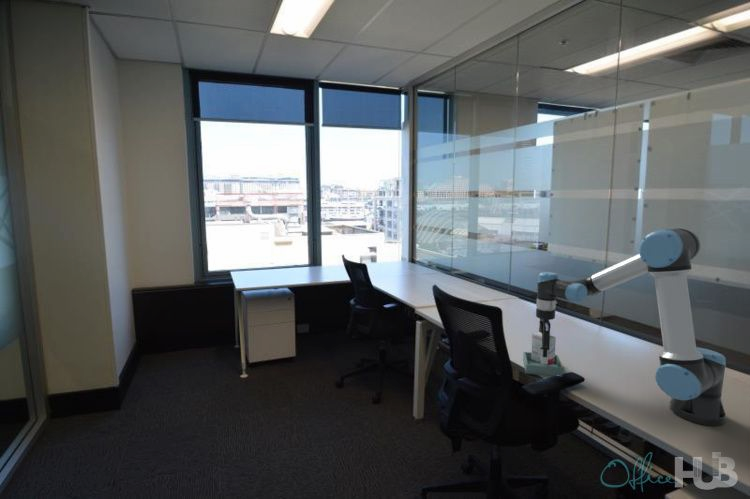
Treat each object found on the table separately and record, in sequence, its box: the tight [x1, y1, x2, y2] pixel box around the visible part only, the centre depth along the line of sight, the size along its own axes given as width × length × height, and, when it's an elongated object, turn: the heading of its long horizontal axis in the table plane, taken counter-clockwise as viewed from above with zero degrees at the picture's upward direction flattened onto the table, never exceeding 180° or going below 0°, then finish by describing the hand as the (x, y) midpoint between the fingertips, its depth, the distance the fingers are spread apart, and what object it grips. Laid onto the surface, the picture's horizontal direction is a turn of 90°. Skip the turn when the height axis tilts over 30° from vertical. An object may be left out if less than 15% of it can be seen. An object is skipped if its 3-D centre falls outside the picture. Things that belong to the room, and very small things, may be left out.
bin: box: [522, 351, 564, 377], centre depth 178 cm, size 14×14×4 cm
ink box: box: [531, 331, 557, 365], centre depth 177 cm, size 9×5×12 cm, turn 33°
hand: (542, 359), depth 178 cm, fingers closed on ink box, 9 cm apart
